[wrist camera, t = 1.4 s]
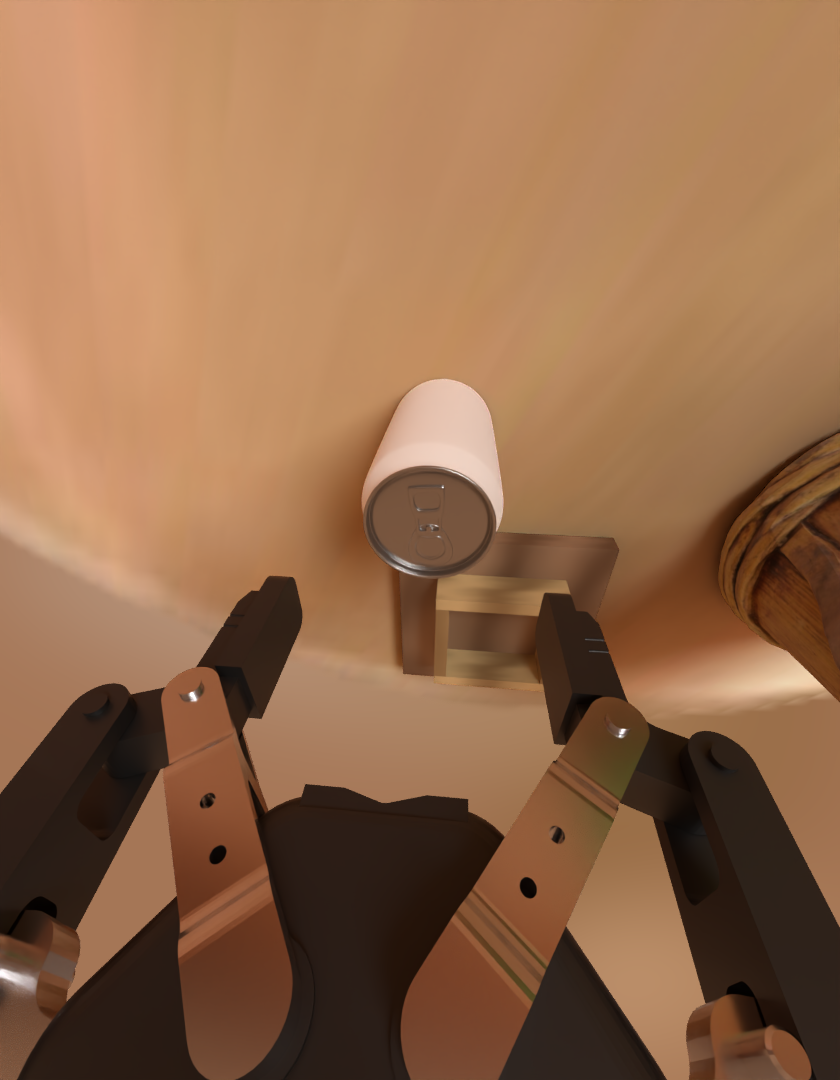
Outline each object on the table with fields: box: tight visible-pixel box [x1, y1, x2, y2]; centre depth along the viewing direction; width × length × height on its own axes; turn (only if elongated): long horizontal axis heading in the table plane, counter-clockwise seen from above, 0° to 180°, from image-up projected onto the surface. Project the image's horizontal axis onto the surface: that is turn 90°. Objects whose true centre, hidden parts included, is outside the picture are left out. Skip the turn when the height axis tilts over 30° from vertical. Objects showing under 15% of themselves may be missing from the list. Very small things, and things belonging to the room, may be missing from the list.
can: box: [362, 379, 503, 579], centre depth 22 cm, size 6×6×12 cm
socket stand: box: [399, 532, 619, 692], centre depth 34 cm, size 16×16×4 cm
